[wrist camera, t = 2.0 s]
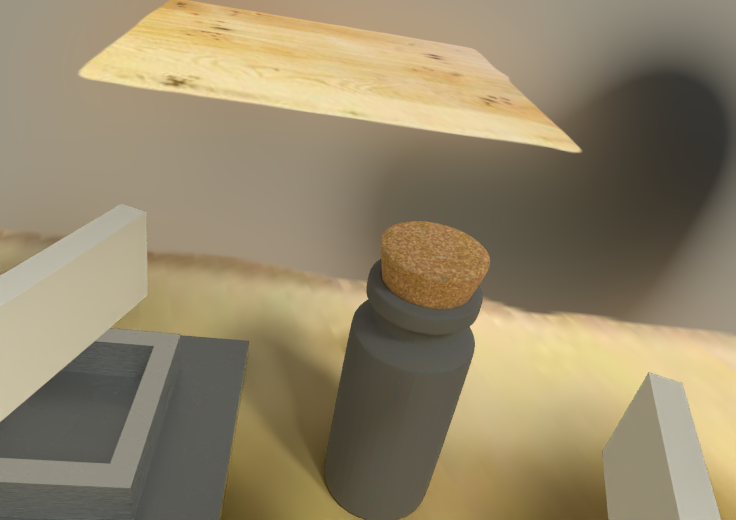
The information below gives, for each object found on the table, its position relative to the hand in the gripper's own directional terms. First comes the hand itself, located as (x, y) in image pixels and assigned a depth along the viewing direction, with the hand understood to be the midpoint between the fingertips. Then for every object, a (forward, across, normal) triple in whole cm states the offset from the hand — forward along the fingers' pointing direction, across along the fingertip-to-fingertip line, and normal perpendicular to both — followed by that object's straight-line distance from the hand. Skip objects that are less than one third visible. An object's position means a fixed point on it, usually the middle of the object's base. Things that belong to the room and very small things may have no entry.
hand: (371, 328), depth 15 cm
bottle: (+10, +1, -18) cm, 21 cm away
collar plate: (+5, -16, -18) cm, 24 cm away
